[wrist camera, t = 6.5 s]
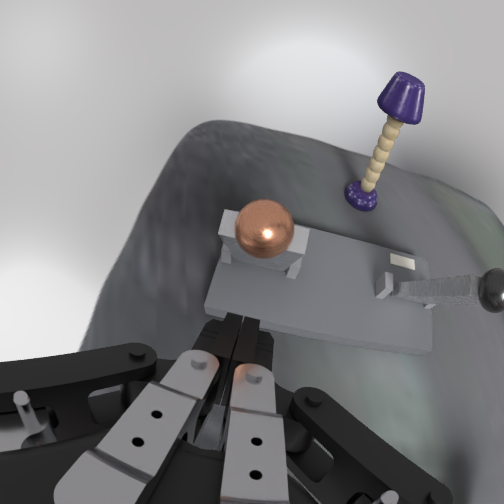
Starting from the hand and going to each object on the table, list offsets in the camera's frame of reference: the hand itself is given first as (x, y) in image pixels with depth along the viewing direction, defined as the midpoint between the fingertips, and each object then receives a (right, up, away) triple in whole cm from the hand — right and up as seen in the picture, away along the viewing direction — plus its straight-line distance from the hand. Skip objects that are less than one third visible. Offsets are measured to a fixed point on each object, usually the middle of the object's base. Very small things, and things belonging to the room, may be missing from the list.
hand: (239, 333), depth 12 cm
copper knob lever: (+1, +3, +12) cm, 12 cm away
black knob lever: (+15, 0, +11) cm, 19 cm away
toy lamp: (+14, +10, +21) cm, 27 cm away
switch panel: (+8, 0, +14) cm, 16 cm away
